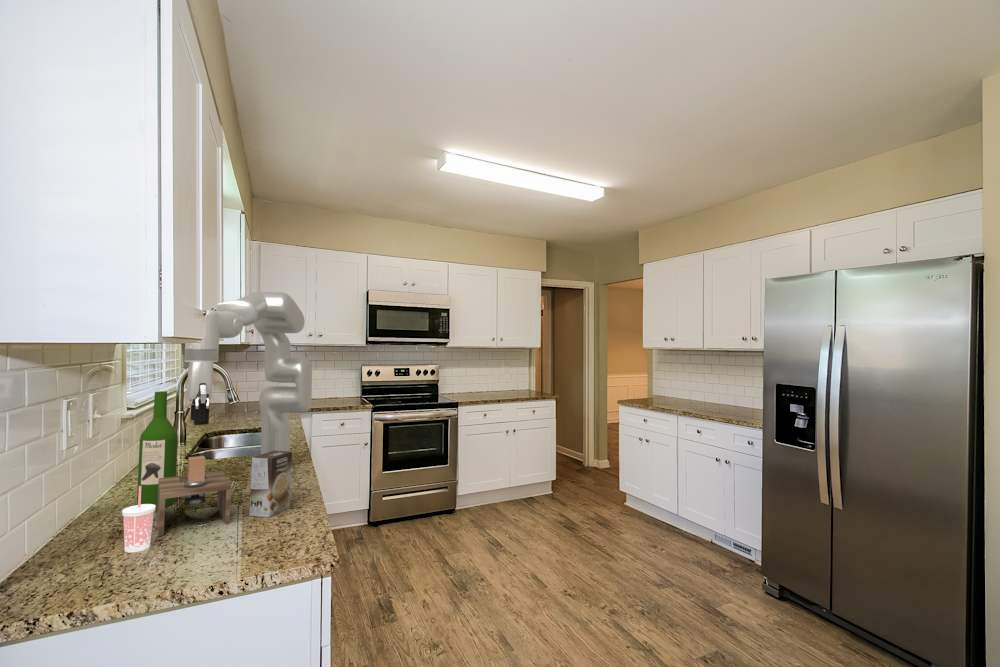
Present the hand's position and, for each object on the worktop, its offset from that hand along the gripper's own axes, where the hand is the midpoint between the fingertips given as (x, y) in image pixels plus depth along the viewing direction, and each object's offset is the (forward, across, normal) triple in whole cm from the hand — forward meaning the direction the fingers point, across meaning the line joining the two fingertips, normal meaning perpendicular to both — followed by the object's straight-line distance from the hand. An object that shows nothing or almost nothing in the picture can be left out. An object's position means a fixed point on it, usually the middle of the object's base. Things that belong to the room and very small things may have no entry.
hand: (199, 422), depth 124 cm
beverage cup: (+26, +10, -12) cm, 31 cm away
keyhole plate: (+26, -4, 0) cm, 26 cm away
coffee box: (+26, +1, +18) cm, 32 cm away
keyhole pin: (+21, 0, 0) cm, 21 cm away
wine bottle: (+26, -22, -8) cm, 36 cm away
